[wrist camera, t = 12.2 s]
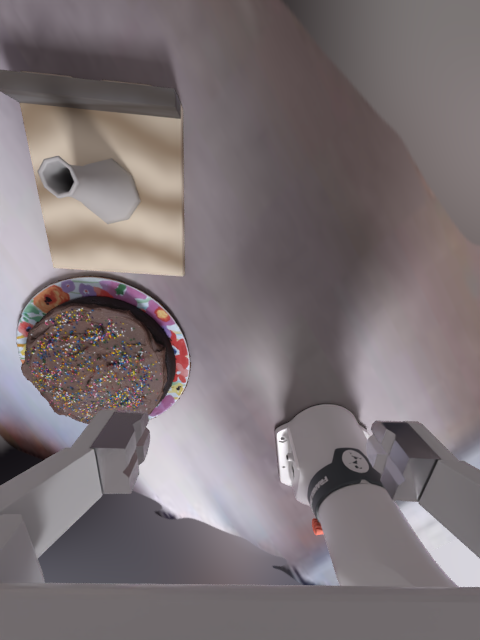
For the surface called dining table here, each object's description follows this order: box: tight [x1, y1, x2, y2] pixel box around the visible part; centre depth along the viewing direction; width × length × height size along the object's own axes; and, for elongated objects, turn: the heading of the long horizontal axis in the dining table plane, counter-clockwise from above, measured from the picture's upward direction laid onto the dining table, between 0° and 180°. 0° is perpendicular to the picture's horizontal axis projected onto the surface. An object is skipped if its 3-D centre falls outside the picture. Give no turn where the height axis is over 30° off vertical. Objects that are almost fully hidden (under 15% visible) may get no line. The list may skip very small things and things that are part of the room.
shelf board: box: [0, 70, 185, 276], centre depth 30 cm, size 20×18×4 cm
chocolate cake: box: [16, 276, 191, 424], centre depth 38 cm, size 28×28×7 cm
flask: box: [37, 156, 141, 224], centre depth 26 cm, size 7×7×10 cm
